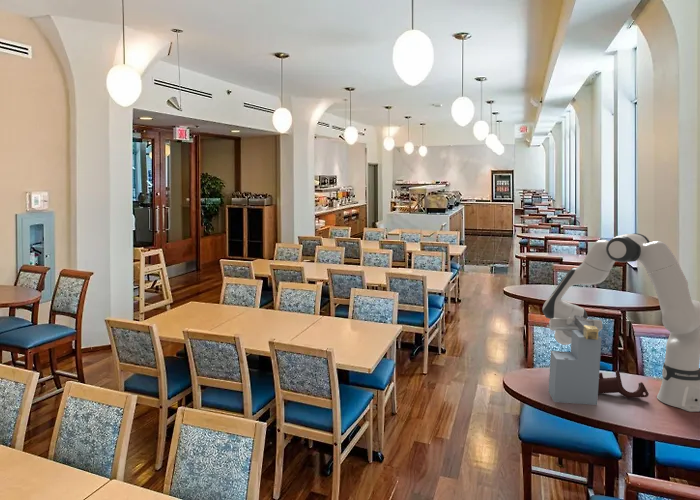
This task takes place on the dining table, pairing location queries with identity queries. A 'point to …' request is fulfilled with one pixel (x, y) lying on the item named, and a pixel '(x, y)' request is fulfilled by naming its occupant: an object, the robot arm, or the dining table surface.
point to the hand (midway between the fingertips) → (579, 319)
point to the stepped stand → (576, 371)
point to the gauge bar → (586, 328)
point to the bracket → (619, 387)
